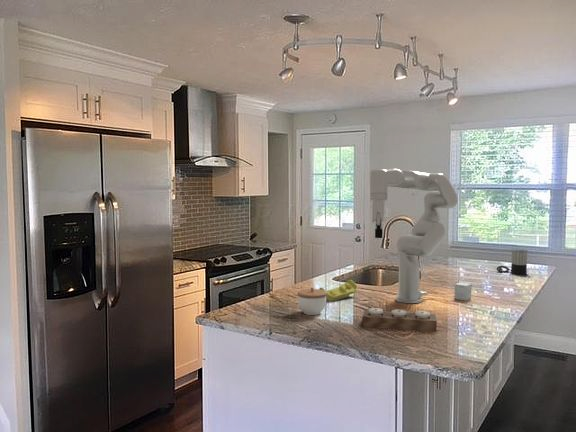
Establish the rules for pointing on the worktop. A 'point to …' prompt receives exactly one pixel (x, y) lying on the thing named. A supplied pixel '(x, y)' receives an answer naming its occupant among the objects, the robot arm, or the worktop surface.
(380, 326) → the mount
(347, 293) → the plastic component
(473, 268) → the worktop surface
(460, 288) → the product box
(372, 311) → the knob
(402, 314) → the knob
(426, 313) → the knob
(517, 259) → the milk frother
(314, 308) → the lidded bowl
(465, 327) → the worktop surface
